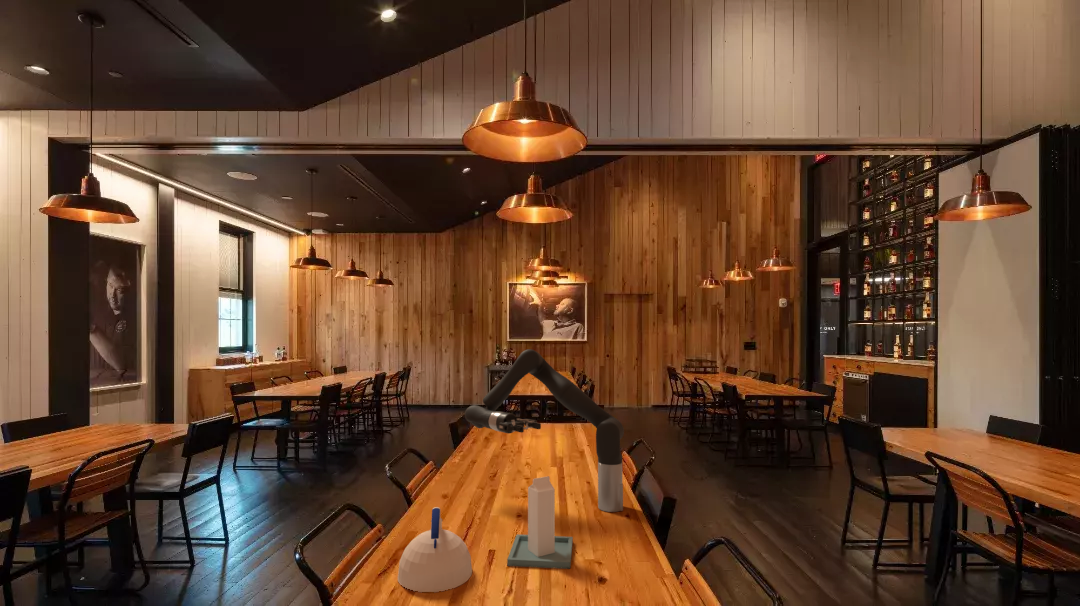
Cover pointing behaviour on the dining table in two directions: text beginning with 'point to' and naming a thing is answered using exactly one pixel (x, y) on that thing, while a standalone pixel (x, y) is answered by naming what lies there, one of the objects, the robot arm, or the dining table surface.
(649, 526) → the dining table surface
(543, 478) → the milk
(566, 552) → the tray
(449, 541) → the dome with blue handle
